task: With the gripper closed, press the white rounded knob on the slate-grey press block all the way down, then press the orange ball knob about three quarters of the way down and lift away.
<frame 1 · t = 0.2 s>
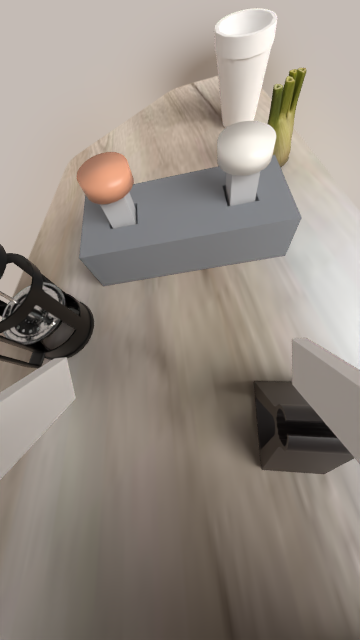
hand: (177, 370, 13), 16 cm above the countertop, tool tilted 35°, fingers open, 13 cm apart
orange ball knob: (117, 202, 29), point 9 cm above the countertop, slide at 0.0 cm
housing: (186, 240, 37), on the countertop
foam cup: (237, 121, 47), on the countertop
phone stand: (284, 423, 25), on the countertop
french press: (64, 333, 34), on the countertop
white rounded knob: (242, 176, 28), point 9 cm above the countertop, slide at 0.0 cm
fennel bulb: (270, 165, 41), on the countertop
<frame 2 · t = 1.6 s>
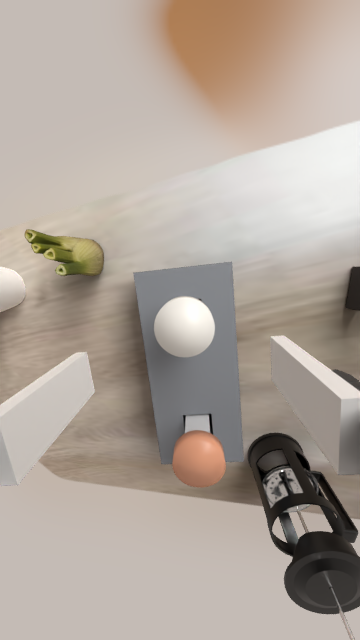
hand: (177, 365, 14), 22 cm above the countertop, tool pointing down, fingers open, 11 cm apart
orange ball knob: (198, 438, 30), point 9 cm above the countertop, slide at 0.0 cm
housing: (193, 355, 37), on the countertop
foam cup: (8, 287, 37), on the countertop
french press: (277, 455, 40), on the countertop
white rounded knob: (185, 319, 27), point 9 cm above the countertop, slide at 0.0 cm
fennel bulb: (92, 258, 35), on the countertop
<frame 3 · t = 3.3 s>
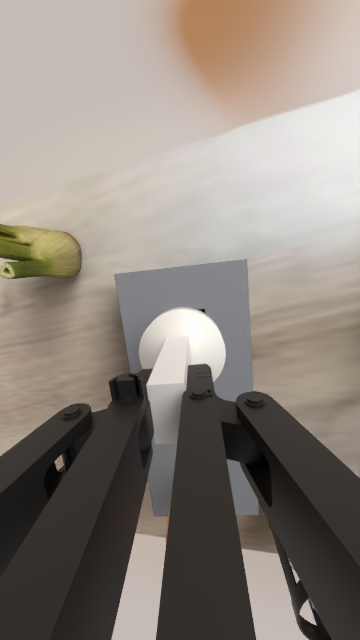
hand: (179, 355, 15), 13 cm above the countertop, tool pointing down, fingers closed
orange ball knob: (201, 491, 23), point 9 cm above the countertop, slide at 0.0 cm
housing: (194, 375, 30), on the countertop
french press: (296, 495, 33), on the countertop
white rounded knob: (184, 336, 20), point 9 cm above the countertop, slide at 0.4 cm, touching gripper
fennel bulb: (68, 255, 28), on the countertop
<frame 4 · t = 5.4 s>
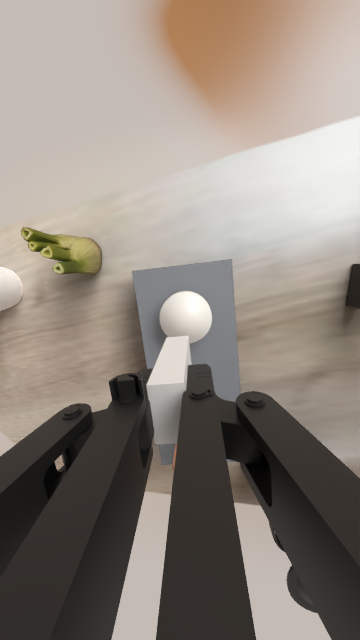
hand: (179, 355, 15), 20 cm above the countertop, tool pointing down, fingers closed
orange ball knob: (199, 438, 29), point 9 cm above the countertop, slide at 0.0 cm
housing: (193, 354, 37), on the countertop
foam cup: (5, 287, 37), on the countertop
french press: (278, 454, 40), on the countertop
white rounded knob: (186, 311, 30), point 5 cm above the countertop, slide at 4.0 cm
fennel bulb: (90, 257, 35), on the countertop
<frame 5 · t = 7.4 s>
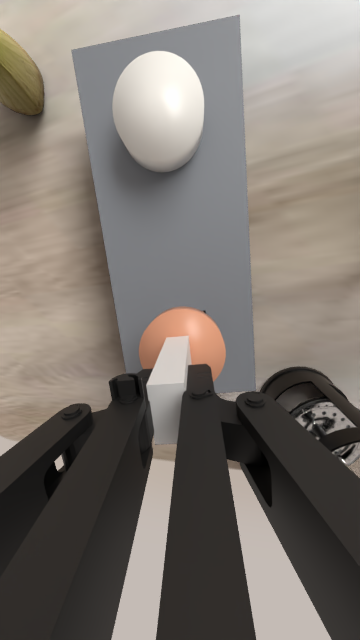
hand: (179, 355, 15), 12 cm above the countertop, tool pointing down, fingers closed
orange ball knob: (184, 336, 20), point 8 cm above the countertop, slide at 1.6 cm, touching gripper
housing: (180, 249, 26), on the countertop
french press: (299, 400, 29), on the countertop
white rounded knob: (166, 143, 19), point 5 cm above the countertop, slide at 4.0 cm
fennel bulb: (29, 95, 24), on the countertop
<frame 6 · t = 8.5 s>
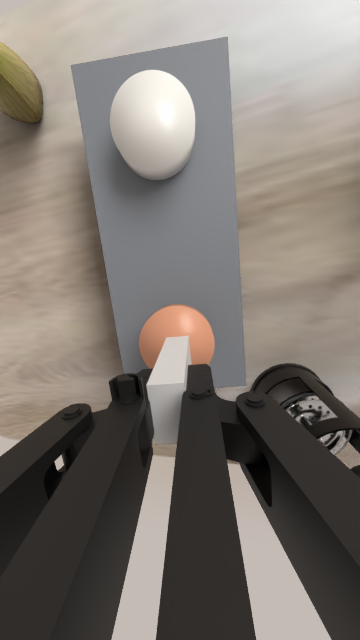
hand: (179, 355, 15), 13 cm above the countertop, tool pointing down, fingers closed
orange ball knob: (179, 331, 22), point 6 cm above the countertop, slide at 2.8 cm
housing: (174, 251, 27), on the countertop
french press: (289, 396, 30), on the countertop
white rounded knob: (160, 152, 20), point 5 cm above the countertop, slide at 4.0 cm
fennel bulb: (28, 104, 25), on the countertop
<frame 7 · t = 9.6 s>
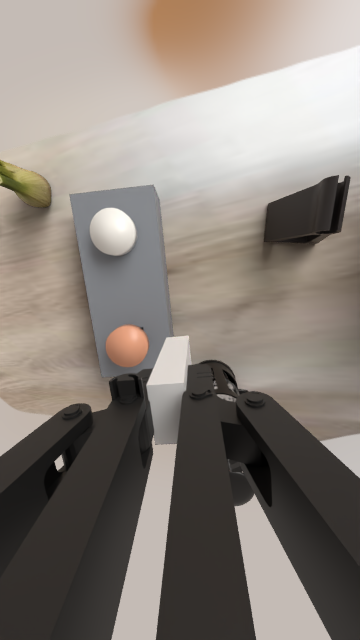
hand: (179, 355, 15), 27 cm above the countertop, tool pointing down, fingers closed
orange ball knob: (133, 339, 37), point 6 cm above the countertop, slide at 2.8 cm
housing: (135, 286, 42), on the countertop
phone stand: (291, 224, 39), on the countertop
french press: (213, 381, 45), on the countertop
white rounded knob: (120, 236, 35), point 5 cm above the countertop, slide at 4.0 cm
fennel bulb: (42, 194, 39), on the countertop
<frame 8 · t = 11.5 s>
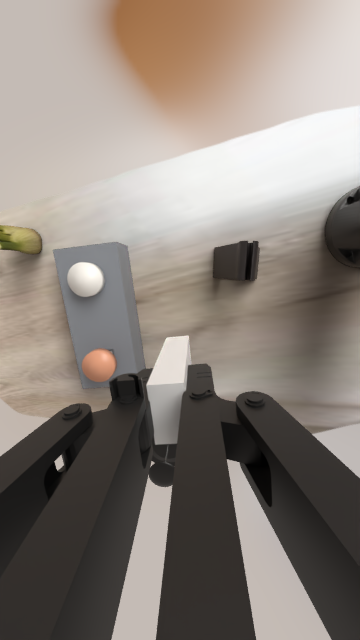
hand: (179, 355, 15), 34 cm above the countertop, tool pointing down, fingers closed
orange ball knob: (106, 358, 46), point 6 cm above the countertop, slide at 2.8 cm
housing: (111, 314, 51), on the countertop
phone stand: (235, 263, 47), on the countertop
french press: (178, 390, 54), on the countertop
white rounded knob: (94, 278, 44), point 5 cm above the countertop, slide at 4.0 cm
fennel bulb: (34, 242, 49), on the countertop
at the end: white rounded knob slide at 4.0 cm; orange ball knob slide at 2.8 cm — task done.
